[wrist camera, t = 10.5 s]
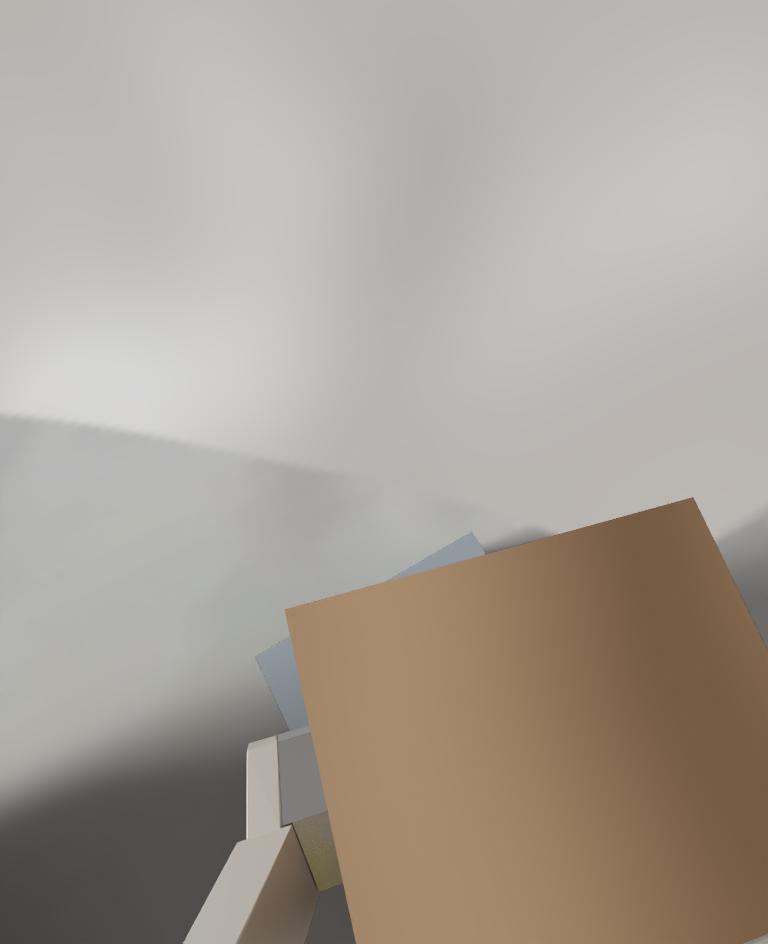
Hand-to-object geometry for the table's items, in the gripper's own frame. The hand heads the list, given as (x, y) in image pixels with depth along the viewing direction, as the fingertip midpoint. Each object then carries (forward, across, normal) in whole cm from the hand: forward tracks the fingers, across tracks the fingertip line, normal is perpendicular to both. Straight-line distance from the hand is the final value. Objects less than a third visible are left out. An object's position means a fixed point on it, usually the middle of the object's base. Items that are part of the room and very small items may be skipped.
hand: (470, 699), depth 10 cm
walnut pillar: (+3, 0, +4) cm, 5 cm away
